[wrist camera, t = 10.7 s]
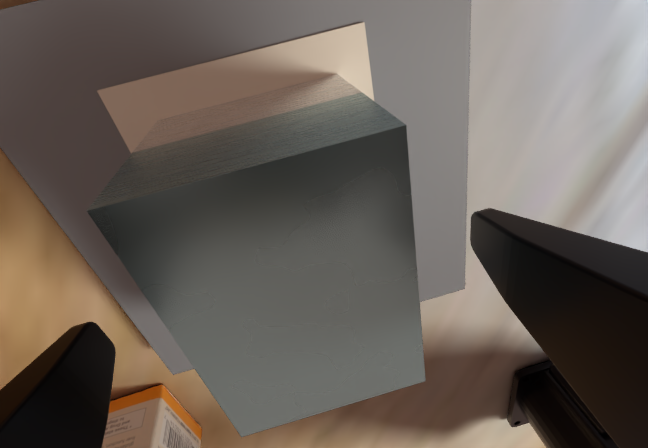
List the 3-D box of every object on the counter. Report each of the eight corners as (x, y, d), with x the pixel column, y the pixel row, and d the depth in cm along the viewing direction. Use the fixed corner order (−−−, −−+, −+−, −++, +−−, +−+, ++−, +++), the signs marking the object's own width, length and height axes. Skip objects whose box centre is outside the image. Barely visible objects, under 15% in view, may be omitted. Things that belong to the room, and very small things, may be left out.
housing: (337, 73, 10) (406, 124, 5) (370, 264, 13) (425, 381, 9) (157, 120, 9) (87, 210, 5) (243, 301, 13) (241, 437, 9)
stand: (448, 267, 17) (466, 290, 15) (178, 346, 16) (172, 377, 15) (443, -91, 10) (476, -107, 8) (-41, 27, 9) (-93, 31, 8)
